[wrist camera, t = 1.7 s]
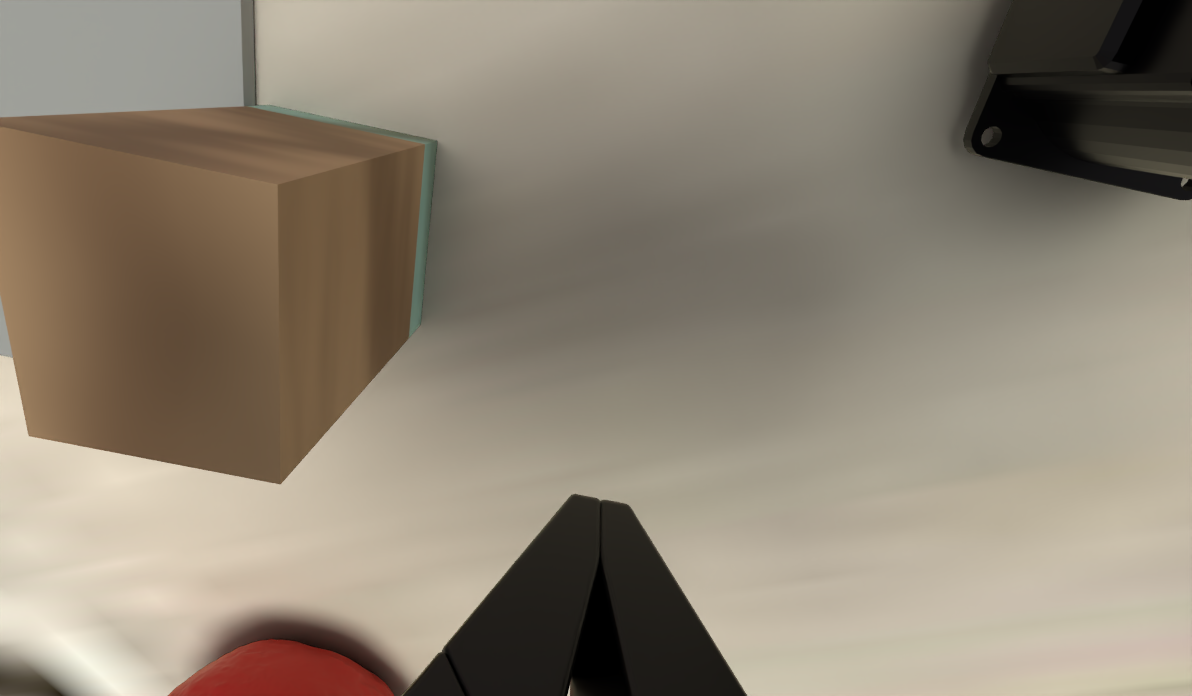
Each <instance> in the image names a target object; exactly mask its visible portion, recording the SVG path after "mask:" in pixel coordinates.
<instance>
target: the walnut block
mask: <svg viewBox="0 0 1192 696" xmlns="http://www.w3.org/2000/svg"><path fill="white" fill-rule="evenodd" d="M436 150H437V141H435V140H431V139H426V138H421V137H417V136H412V135H407V134H403V133H398V132H393V131H389V130H384V129H379V128H375V127H370V126H365V125H361V124H356V123H351V122H347V121H342V120H337V119H333V118H328V117H323V116H319V115H314V114H309V113H305V112H300V111H295V110H291V109H286V108H281V107H276V106H272V105H261V106H239V107H217V108H195V109H173V110H151V111H129V112H107V113H85V114H64V115H42V116H20V117H0V296H1V301H2V306H3V311H4V316H5V321H6V326H7V331H8V336H9V341H10V346H11V351H12V355H13V360H14V365H15V370H16V375H17V380H18V385H19V390H20V395H21V400H22V405H23V410H24V415H25V420H26V425H27V430H28V434H29V436H32V437H37V438H42V439H47V440H52V441H58V442H63V443H68V444H73V445H78V446H84V447H89V448H94V449H99V450H104V451H110V452H115V453H120V454H125V455H130V456H136V457H141V458H146V459H151V460H156V461H162V462H167V463H172V464H177V465H182V466H188V467H193V468H198V469H203V470H208V471H214V472H219V473H224V474H229V475H234V476H240V477H245V478H250V479H255V480H260V481H266V482H271V483H276V484H281V483H282V482H283V481H284V480H285V479H286V478H287V476H288V475H289V474H290V473H291V472H292V471H293V470H294V468H295V467H296V466H297V465H298V464H299V463H300V462H301V460H302V459H303V458H304V457H305V456H306V455H307V454H308V452H309V451H310V450H311V449H312V448H313V447H314V446H315V444H316V443H317V442H318V441H319V440H320V439H321V438H322V437H323V435H324V434H325V433H326V432H327V431H328V430H329V429H330V427H331V426H332V425H333V424H334V423H335V422H336V421H337V419H338V418H339V417H340V416H341V415H342V414H343V413H344V411H345V410H346V409H347V408H348V407H349V406H350V405H351V403H352V402H353V401H354V400H355V399H356V398H357V397H358V395H359V394H360V393H361V392H362V391H363V390H364V389H365V387H366V386H367V385H368V384H369V383H370V382H371V381H372V379H373V378H374V377H375V376H376V375H377V374H378V373H379V372H380V370H381V369H382V368H383V367H384V366H385V365H386V364H387V362H388V361H389V360H390V359H391V358H392V357H393V356H394V354H395V353H396V352H397V351H398V350H399V349H400V348H401V346H402V345H403V344H404V343H405V342H406V341H407V340H408V338H409V337H410V336H411V335H412V334H413V333H414V332H415V330H416V329H417V328H418V327H419V326H420V325H421V314H422V303H423V292H424V281H425V270H426V259H427V248H428V237H429V226H430V215H431V204H432V194H433V183H434V172H435V161H436Z"/></svg>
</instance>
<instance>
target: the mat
mask: <svg viewBox="0 0 1192 696" xmlns="http://www.w3.org/2000/svg"><path fill="white" fill-rule="evenodd" d="M239 106H256V104H255V59H254V14H253V0H0V117H20V116H42V115H64V114H85V113H107V112H129V111H151V110H173V109H195V108H217V107H239ZM0 355H2V356H7V357H12V358H13V355H12V351H11V346H10V341H9V336H8V331H7V326H6V321H5V316H4V311H3V306H2V301H1V296H0Z"/></svg>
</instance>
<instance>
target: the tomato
mask: <svg viewBox="0 0 1192 696" xmlns="http://www.w3.org/2000/svg"><path fill="white" fill-rule="evenodd" d="M168 696H394V694H393V693H392V691H391V690H390V688H389V687H388V686H387V684H386V683H385V682H384V681H383V680H381V679H380V678H379V677H378V676H376V675H375V674H373V673H372V672H370V671H368V670H367V669H365V668H363V667H362V666H360V665H359V664H358V663H356V662H353V661H352V660H351V659H349V658H347V657H345V656H343V655H340V654H338V653H336V652H333V651H329V650H325V649H321V648H316V647H311V646H308V645H305V644H303V643H300V642H296V641H291V640H282V639H279V640H274V639H269V640H260V641H256V642H253V643H252V642H251V643H249V644H248V645H245V646H240V647H238V648H236V649H235V650H233V651H232V652H230V653H227V654H225V655H223V656H222V657H220V658H219V659H217V660H216V661H214V662H212V663H210V664H208V665H207V666H205V667H204V668H202V669H201V670H199V671H197V672H196V673H195V674H194V675H192V676H191V677H190V678H188V679H187V680H186V681H185V682H183V683H182V684H180V685H179V686H178V687H176V688H175V689H174V690H173V691H172V692H171V693H170V694H169V695H168Z"/></svg>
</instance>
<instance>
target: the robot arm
mask: <svg viewBox="0 0 1192 696" xmlns="http://www.w3.org/2000/svg"><path fill="white" fill-rule="evenodd" d="M988 65H989V69H990V74H989V76H988V78H987V81H986V83H985V86H984V88H983V90H982V93H981V95H980V97H979V100H978V102H977V105H976V107H975V109H974V112H973V114H972V117H971V119H970V121H969V124H968V126H967V128H966V131H965V134H964V139H963V140H964V146H965V148H966V149H967V151H968V152H970V153H972V154H974V155H977V156H982V157H986V158H991V159H995V160H1000V161H1004V162H1009V163H1013V164H1018V165H1023V166H1027V167H1032V168H1036V169H1041V170H1045V171H1050V172H1054V173H1059V174H1063V175H1068V176H1073V177H1077V178H1082V179H1086V180H1091V181H1095V182H1100V183H1104V184H1109V185H1113V186H1118V187H1123V188H1127V189H1132V190H1136V191H1141V192H1145V193H1150V194H1154V195H1159V196H1164V197H1168V198H1173V199H1178V200H1190V199H1192V0H1013V2H1012V4H1011V6H1010V9H1009V11H1008V14H1007V16H1006V18H1005V21H1004V23H1003V26H1002V28H1001V31H1000V33H999V35H998V38H997V40H996V43H995V45H994V47H993V50H992V52H991V55H990V57H989V59H988ZM989 127H991V128H992V130H993V138H992V139H991V141H990V142H989V143H987V144H986V145H983V144H982V142H981V137H982V134H983V132H984V131H985V130H986V129H988V128H989ZM1183 178H1187V179H1188V182H1187V183H1186V184H1185V185H1184V186H1182V187H1181V181H1182V179H1183ZM569 686H570V696H747V694H746V693H745V691H744V690H743V688H742V686H741V685H740V683H739V682H738V680H737V678H736V677H735V675H734V673H733V672H732V670H731V669H730V667H729V665H728V664H727V662H726V661H725V659H724V657H723V656H722V654H721V652H720V651H719V649H718V648H717V646H716V644H715V643H714V641H713V640H712V638H711V636H710V635H709V633H708V631H707V630H706V628H705V627H704V625H703V623H702V622H701V620H700V619H699V617H698V615H697V614H696V612H695V610H694V609H693V607H692V606H691V604H690V602H689V601H688V599H687V598H686V596H685V594H684V593H683V591H682V589H681V588H680V586H679V585H678V583H677V581H676V580H675V578H674V577H673V575H672V573H671V572H670V570H669V568H668V567H667V565H666V564H665V562H664V560H663V559H662V557H661V556H660V554H659V552H658V551H657V549H656V547H655V546H654V544H653V543H652V541H651V539H650V538H649V536H648V535H647V533H646V531H645V530H644V528H643V526H642V525H641V523H640V522H639V520H638V518H637V517H636V515H635V514H634V512H633V510H632V509H631V507H630V506H629V505H627V504H624V503H619V502H614V501H609V500H601V501H600V500H599V499H597V498H593V497H588V496H583V495H578V494H573V495H571V496H570V497H569V498H568V499H567V501H566V502H565V503H564V504H563V505H562V507H561V508H560V509H559V510H558V511H557V512H556V514H555V515H554V516H553V517H552V518H551V520H550V521H549V522H548V523H547V524H546V526H545V527H544V528H543V529H542V530H541V532H540V533H539V534H538V535H537V536H536V538H535V539H534V540H533V541H532V542H531V544H530V545H529V546H528V547H527V548H526V550H525V551H524V552H523V553H522V554H521V555H520V557H519V558H518V559H517V560H516V561H515V563H514V564H513V565H512V566H511V567H510V569H509V570H508V571H507V572H506V573H505V575H504V576H503V577H502V578H501V579H500V581H499V582H498V583H497V584H496V585H495V587H494V588H493V589H492V590H491V591H490V592H489V594H488V595H487V596H486V597H485V598H484V600H483V601H482V602H481V603H480V604H479V606H478V607H477V608H476V609H475V610H474V612H473V613H472V614H471V615H470V616H469V618H468V619H467V620H466V621H465V622H464V624H463V625H462V626H461V627H460V628H459V629H458V631H457V632H456V633H455V634H454V635H453V637H452V638H451V639H450V640H449V641H448V643H447V644H446V645H445V646H444V648H443V650H442V652H440V653H438V654H437V655H436V656H435V658H434V659H433V660H432V661H431V662H430V664H429V665H428V666H427V667H426V668H425V670H424V671H423V672H422V673H421V674H420V676H419V677H418V678H417V679H416V680H415V681H414V682H413V683H412V685H411V686H410V687H409V688H408V689H407V690H406V691H405V692H404V693H403V695H402V696H567V694H568V690H569Z"/></svg>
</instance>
